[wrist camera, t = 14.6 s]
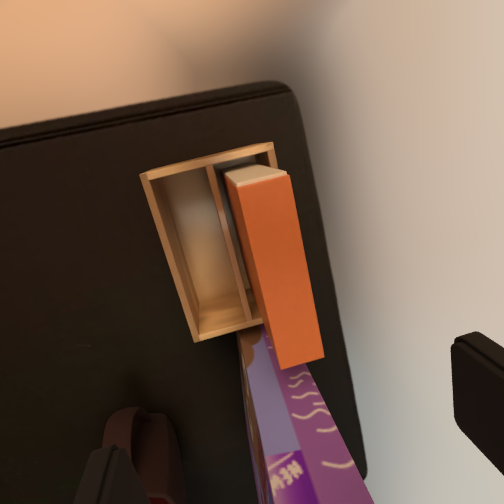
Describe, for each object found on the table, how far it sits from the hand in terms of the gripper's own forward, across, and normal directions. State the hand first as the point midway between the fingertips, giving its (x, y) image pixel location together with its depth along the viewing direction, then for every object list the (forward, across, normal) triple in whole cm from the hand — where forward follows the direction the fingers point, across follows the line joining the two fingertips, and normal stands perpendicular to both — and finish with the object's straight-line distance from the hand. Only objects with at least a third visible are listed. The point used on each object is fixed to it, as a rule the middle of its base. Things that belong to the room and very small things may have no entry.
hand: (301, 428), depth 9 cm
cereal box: (+28, 0, +19) cm, 34 cm away
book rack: (+28, 0, +1) cm, 28 cm away
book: (+27, -2, +1) cm, 27 cm away
